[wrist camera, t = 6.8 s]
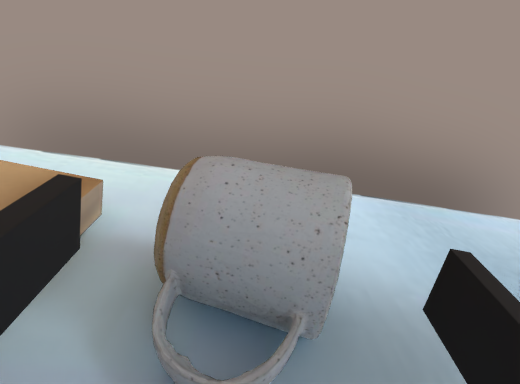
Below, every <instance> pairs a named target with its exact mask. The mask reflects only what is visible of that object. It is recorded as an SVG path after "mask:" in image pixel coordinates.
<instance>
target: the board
mask: <svg viewBox="0 0 520 384" xmlns="http://www.w3.org/2000/svg"><path fill="white" fill-rule="evenodd" d="M58 174H62V175H67V176H72V177H77V178H82V187H81V221H80V236H81V235H82V234H83V232H84V231H85V230H86V229H87V228H88V227H89V226H90V225H91V224H92V223H93V222H94V221H95V220H96V219H97V218H98V217H99V216H100V215H101V214H102V195H103V180H100V179H95V178H90V177H84V176H79V175H74V174H69V173H64V172H59V171H54V170H48V169H43V168H38V167H33V166H28V165H23V164H18V163H12V162H7V161H2V160H0V210H2V209H3V208H5V207H7V206H8V205H10V204H11V203H13V202H15V201H16V200H18V199H19V198H21V197H23V196H24V195H26V194H27V193H29V192H31V191H32V190H34V189H35V188H37V187H39V186H40V185H42V184H43V183H45V182H47V181H48V180H50V179H51V178H53V177H55V176H56V175H58Z"/></svg>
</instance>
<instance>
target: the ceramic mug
mask: <svg viewBox="0 0 520 384" xmlns="http://www.w3.org/2000/svg"><path fill="white" fill-rule="evenodd" d="M351 201H352V184H351V181H350V179H349V178H348V177H346V176H340V175H334V174H328V173H322V172H316V171H310V170H303V169H297V168H291V167H285V166H279V165H273V164H266V163H261V162H256V161H252V160H246V159H241V158H235V157H228V156H207V157H206V156H204V157H197V158H195V159H193V160H191V161H190V162H189V163H187V164H186V165H185V166H184V167H183V168H182V169H181V170H180V171H179V173H178V174H177V176H176V177H175V179H174V180H173V182H172V184H171V186H170V188H169V190H168V193H167V195H166V197H165V199H164V202H163V205H162V208H161V211H160V214H159V219H158V223H157V227H156V235H155V244H154V259H155V266H156V269H157V272H158V275H159V277H160V280H161V282H162V283H163V286H162V288H161V290H160V292H159V294H158V296H157V301H156V303H155V306H154V311H153V321H152V334H153V342H154V347H155V349H156V352H157V355H158V358H159V360H160V362H161V364H162V367H163V368H164V370H165V371H166V372H167V374H168V375H169V376H170V377H171V378H172V380H173V381H174V382H175V383H176V384H269V383H271V382H272V381H273V380H274V379H275V377H276V376H277V375H278V374H279V373H280V372H281V370H282V369H283V367H284V366H285V364H286V363H287V361H288V359H289V357H290V355H291V354H292V352H293V350H294V348H295V346H296V343H297V340H298V337H299V336H300V337H304V338H307V339H316V338H317V337H318V336H319V334H320V333H321V331H322V328H323V325H324V323H325V320H326V318H327V315H328V312H329V309H330V305H331V302H332V299H333V295H334V291H335V287H336V283H337V280H338V276H339V270H340V265H341V261H342V257H343V252H344V246H345V241H346V235H347V229H348V222H349V216H350V210H351ZM178 295H182V296H184V297H186V298H188V299H191V300H193V301H196V302H199V303H202V304H205V305H209V306H212V307H216V308H219V309H222V310H225V311H228V312H231V313H234V314H236V315H239V316H242V317H245V318H247V319H250V320H253V321H256V322H259V323H262V324H264V325H267V326H270V327H273V328H277V329H279V330H282V331H285V332H288V334H287V335H286V337H285V339H284V341H283V342H282V343H281V345H280V346H279V347H278V349H277V350H276V351H275V353H274V354H273V355H272V356H271V357H270V358H269V359H268V360H267V361H266V362H264V363H262V364H261V365H259V366H257V367H256V368H254V369H253V370H251V371H247V372H245V373H243V374H242V375H240V376H239V377H236V378H231V379H227V380H223V381H221V380H216V379H214V378H212V377H209V376H207V375H205V374H202V373H200V372H199V371H197V370H196V369H195V368H194V367H193V366H192V364H191V362H190V361H189V359H188V357H186V356H182V355H180V354H178V353H176V351H175V350H174V348H173V346H172V344H171V343H170V342H169V341H168V340H166V336H165V333H166V328H167V320H168V317H169V314H170V311H171V308H172V306H173V303H174V301H175V299H176V298H177V296H178Z"/></svg>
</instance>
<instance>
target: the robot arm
mask: <svg viewBox="0 0 520 384" xmlns="http://www.w3.org/2000/svg"><path fill="white" fill-rule="evenodd" d="M81 187H82V178H77V177H72V176H67V175H62V174H58V175H56V176H55V177H53V178H51V179H50V180H48V181H47V182H45V183H43V184H42V185H40V186H39V187H37V188H35V189H34V190H32V191H31V192H29V193H27V194H26V195H24V196H23V197H21V198H19V199H18V200H16V201H15V202H13V203H11V204H10V205H8V206H7V207H5V208H3V209H2V210H0V335H1V334H2V333H3V332H4V331H5V330H6V329H7V328H8V327H9V326H10V324H11V323H12V322H13V321H14V320H15V319H16V318H17V317H18V316H19V315H20V313H21V312H22V311H23V310H24V309H25V308H26V307H27V306H28V305H29V304H30V302H31V301H32V300H33V299H34V298H35V297H36V296H37V295H38V294H39V293H40V291H41V290H42V289H43V288H44V287H45V286H46V285H47V284H48V283H49V282H50V280H51V279H52V278H53V277H54V276H55V275H56V274H57V273H58V272H59V271H60V269H61V268H62V267H63V266H64V265H65V264H66V263H67V262H68V261H69V260H70V258H71V257H72V256H73V255H74V254H75V253H76V252H77V251H78V250H79V249H80V221H81ZM423 311H424V313H425V314H426V316H427V318H428V319H429V321H430V323H431V324H432V326H433V328H434V329H435V331H436V333H437V334H438V336H439V338H440V339H441V341H442V343H443V344H444V346H445V348H446V349H447V351H448V353H449V354H450V356H451V358H452V359H453V361H454V363H455V364H456V366H457V368H458V369H459V371H460V373H461V374H462V376H463V378H464V379H465V381H466V383H467V384H520V302H519V301H518V300H517V299H516V298H515V297H514V296H513V295H512V294H511V293H510V292H509V291H508V290H507V289H506V288H505V287H504V286H503V285H502V284H501V283H500V282H499V281H498V280H497V279H496V278H495V277H494V276H493V275H492V274H491V273H490V272H489V271H488V270H487V269H486V268H485V267H484V266H483V265H482V264H481V263H480V262H479V261H478V260H477V259H476V258H475V257H474V256H473V255H472V254H471V253H470V252H465V251H460V250H454V249H450V251H449V253H448V255H447V257H446V259H445V262H444V264H443V266H442V268H441V270H440V273H439V275H438V277H437V279H436V282H435V284H434V286H433V288H432V290H431V293H430V295H429V297H428V299H427V301H426V304H425V306H424V308H423Z"/></svg>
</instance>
